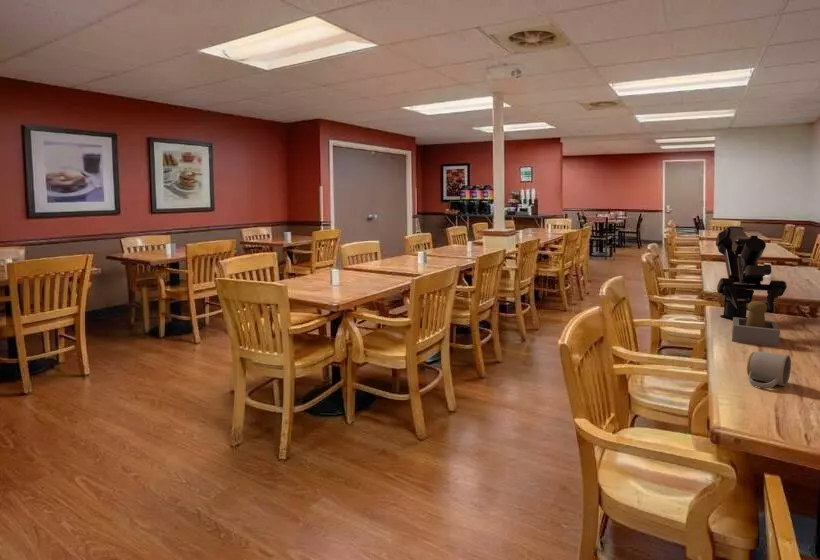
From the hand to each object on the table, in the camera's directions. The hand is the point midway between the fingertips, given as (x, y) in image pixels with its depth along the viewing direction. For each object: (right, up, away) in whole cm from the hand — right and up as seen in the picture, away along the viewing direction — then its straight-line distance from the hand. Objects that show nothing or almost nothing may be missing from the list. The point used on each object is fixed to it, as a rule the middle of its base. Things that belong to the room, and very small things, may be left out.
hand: (753, 309), depth 173 cm
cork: (-1, -9, -2) cm, 9 cm away
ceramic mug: (-21, -17, -38) cm, 47 cm away
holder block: (-1, -9, -2) cm, 10 cm away
